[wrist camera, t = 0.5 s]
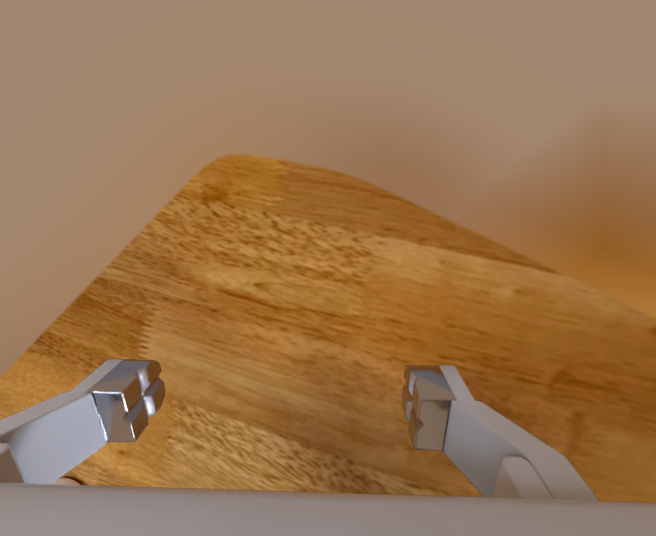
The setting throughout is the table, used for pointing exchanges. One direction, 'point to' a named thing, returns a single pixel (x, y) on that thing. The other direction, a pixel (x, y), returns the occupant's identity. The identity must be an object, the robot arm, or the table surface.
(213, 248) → the table surface
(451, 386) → the robot arm
